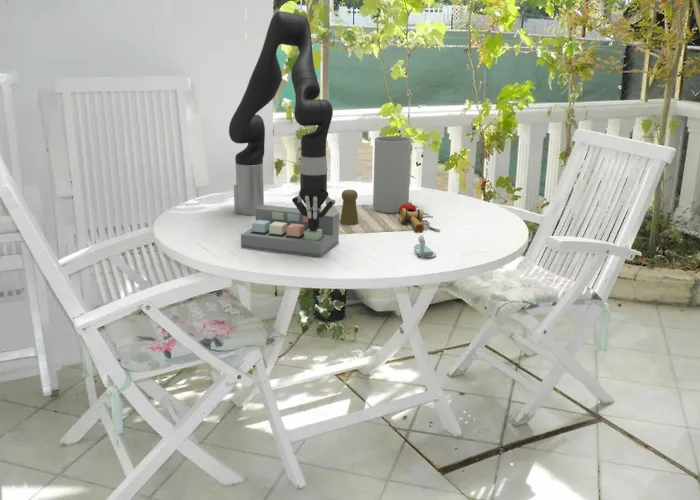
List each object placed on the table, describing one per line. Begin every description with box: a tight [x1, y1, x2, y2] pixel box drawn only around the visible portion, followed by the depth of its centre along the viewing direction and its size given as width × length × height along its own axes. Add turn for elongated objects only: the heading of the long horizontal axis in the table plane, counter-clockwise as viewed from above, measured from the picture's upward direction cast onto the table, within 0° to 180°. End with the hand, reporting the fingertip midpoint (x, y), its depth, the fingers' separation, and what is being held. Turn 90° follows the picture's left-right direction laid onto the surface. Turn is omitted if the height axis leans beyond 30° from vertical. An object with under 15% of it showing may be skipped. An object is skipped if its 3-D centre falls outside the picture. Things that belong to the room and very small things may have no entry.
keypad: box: [240, 204, 340, 259], centre depth 223 cm, size 25×15×10 cm, turn 71°
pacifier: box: [413, 234, 437, 258], centre depth 217 cm, size 7×6×6 cm
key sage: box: [304, 229, 322, 241], centre depth 219 cm, size 4×4×4 cm
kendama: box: [398, 202, 425, 233], centre depth 248 cm, size 8×6×18 cm
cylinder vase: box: [372, 135, 412, 214], centre depth 263 cm, size 12×12×25 cm
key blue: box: [251, 220, 270, 235], centre depth 223 cm, size 4×4×4 cm
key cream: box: [269, 222, 287, 237], centre depth 222 cm, size 4×4×4 cm
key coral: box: [287, 224, 305, 239], centre depth 220 cm, size 4×4×4 cm
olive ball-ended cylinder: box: [339, 189, 359, 226], centre depth 248 cm, size 6×6×11 cm
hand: (313, 230), depth 218 cm, fingers closed
